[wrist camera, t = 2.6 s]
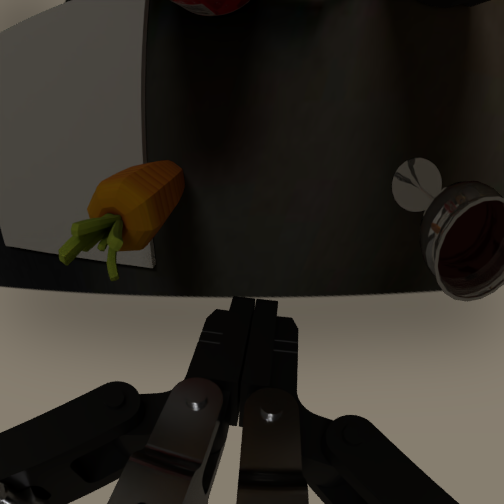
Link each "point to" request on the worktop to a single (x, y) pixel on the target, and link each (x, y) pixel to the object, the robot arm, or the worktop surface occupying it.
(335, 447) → the robot arm
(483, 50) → the worktop surface
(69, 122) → the rubber mat
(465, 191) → the wineglass
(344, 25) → the worktop surface
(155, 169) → the carrot
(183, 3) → the soda can
